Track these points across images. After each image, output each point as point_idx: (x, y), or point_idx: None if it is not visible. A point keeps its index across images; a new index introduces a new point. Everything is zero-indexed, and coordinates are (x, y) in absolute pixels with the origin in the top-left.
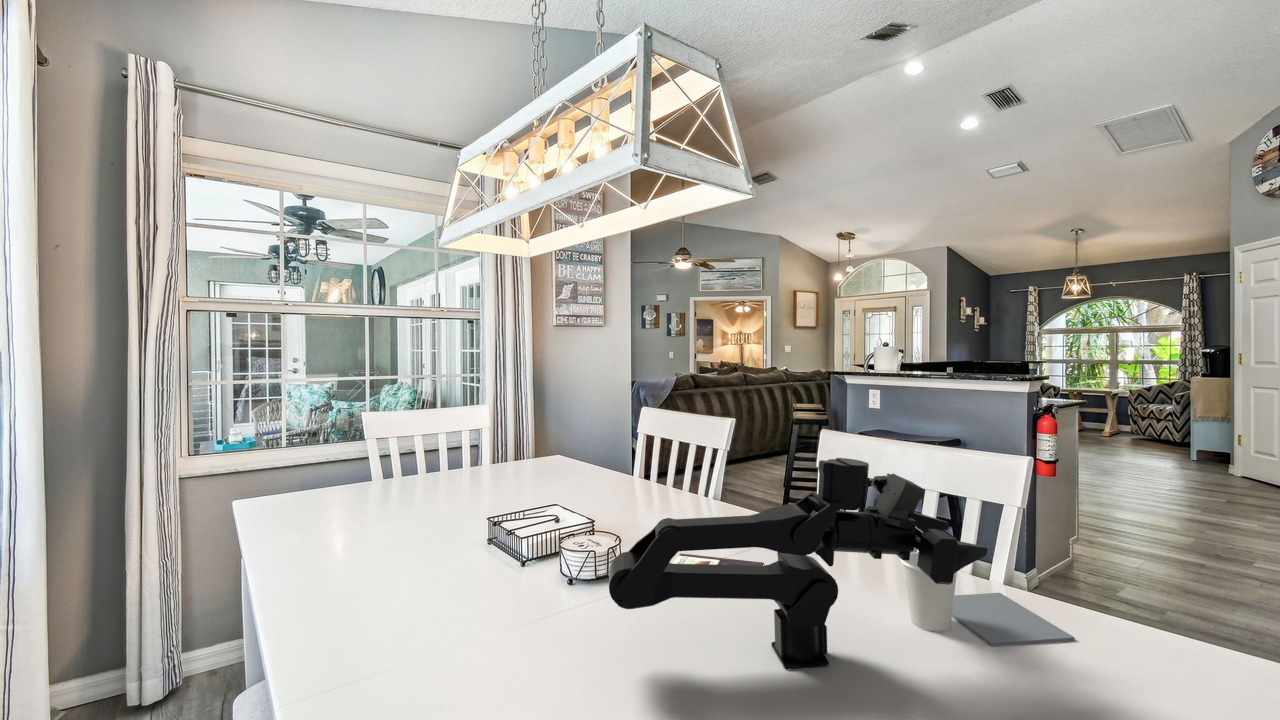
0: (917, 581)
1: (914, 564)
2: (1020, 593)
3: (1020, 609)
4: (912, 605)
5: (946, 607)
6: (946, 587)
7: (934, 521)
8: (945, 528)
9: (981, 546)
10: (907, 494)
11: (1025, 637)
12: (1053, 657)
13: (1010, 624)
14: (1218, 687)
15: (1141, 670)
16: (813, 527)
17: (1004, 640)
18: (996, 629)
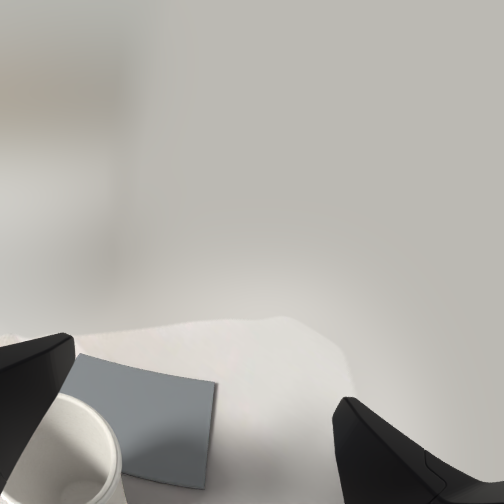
0: None
1: None
2: (91, 337)
3: (126, 373)
4: None
5: (125, 500)
6: (121, 486)
7: (32, 369)
8: (68, 364)
9: (361, 408)
10: None
11: (198, 430)
12: (250, 435)
13: (156, 418)
14: (314, 351)
15: (286, 378)
16: None
17: (200, 463)
18: (163, 446)
